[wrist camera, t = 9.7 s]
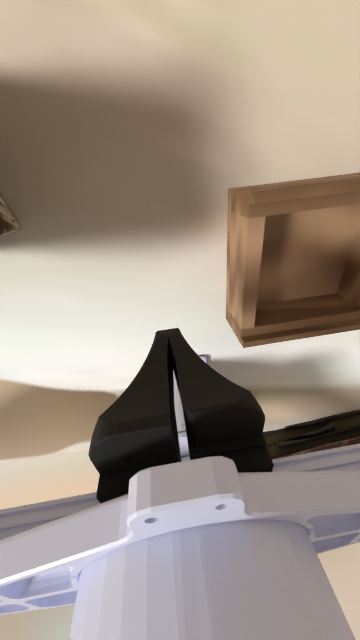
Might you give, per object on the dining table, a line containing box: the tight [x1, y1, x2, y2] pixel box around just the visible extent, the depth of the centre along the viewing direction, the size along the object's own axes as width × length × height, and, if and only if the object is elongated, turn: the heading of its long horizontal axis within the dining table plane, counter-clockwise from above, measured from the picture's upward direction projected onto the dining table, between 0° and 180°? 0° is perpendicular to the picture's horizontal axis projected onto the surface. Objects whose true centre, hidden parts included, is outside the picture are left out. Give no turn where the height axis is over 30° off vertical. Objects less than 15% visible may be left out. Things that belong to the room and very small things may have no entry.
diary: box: [262, 410, 360, 460], centre depth 41 cm, size 19×25×5 cm
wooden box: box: [226, 173, 360, 348], centre depth 19 cm, size 12×13×5 cm
